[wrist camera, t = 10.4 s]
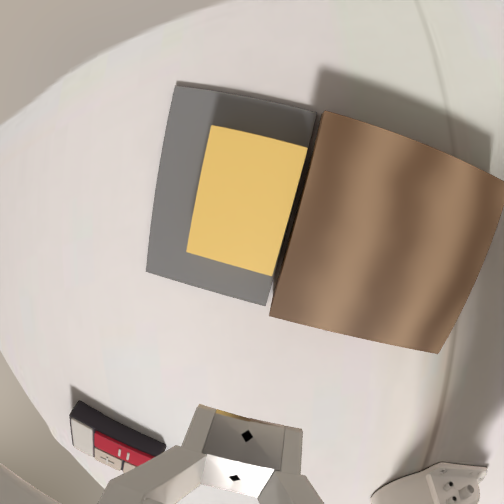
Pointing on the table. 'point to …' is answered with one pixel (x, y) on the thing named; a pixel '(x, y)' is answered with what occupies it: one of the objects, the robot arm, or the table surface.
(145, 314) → the table surface
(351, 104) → the table surface
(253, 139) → the yellow rectangular block
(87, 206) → the table surface
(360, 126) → the panel
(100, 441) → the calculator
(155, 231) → the mat
